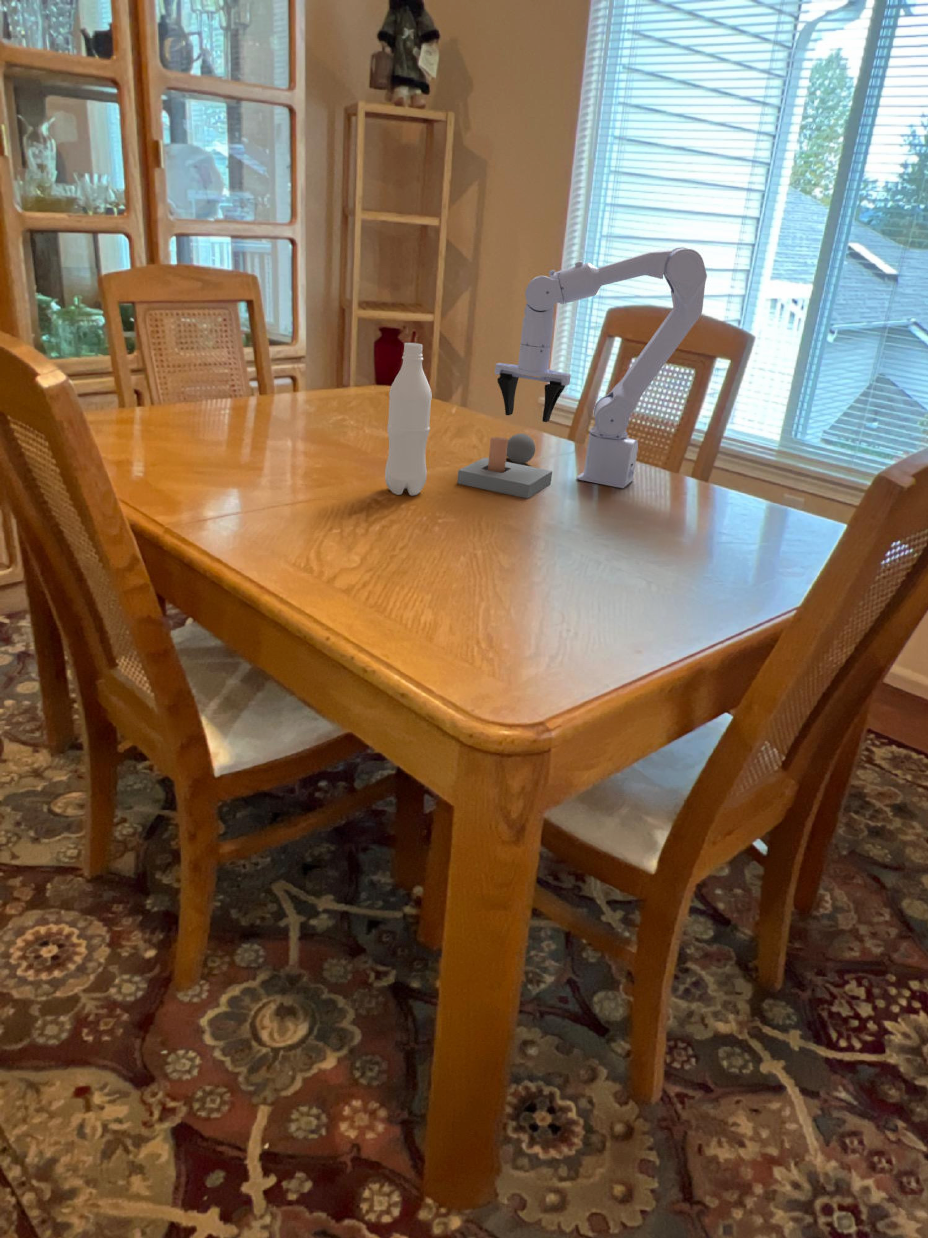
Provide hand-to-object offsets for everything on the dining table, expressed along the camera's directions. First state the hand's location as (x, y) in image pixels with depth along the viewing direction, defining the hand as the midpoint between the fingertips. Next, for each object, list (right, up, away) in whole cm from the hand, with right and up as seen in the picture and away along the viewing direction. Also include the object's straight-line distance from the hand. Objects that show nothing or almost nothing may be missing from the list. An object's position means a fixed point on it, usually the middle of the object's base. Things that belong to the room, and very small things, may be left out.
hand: (527, 417), depth 171 cm
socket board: (-5, -13, -5) cm, 15 cm away
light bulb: (-5, -3, +14) cm, 15 cm away
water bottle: (-23, -17, -15) cm, 32 cm away
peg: (-6, -13, -4) cm, 15 cm away
